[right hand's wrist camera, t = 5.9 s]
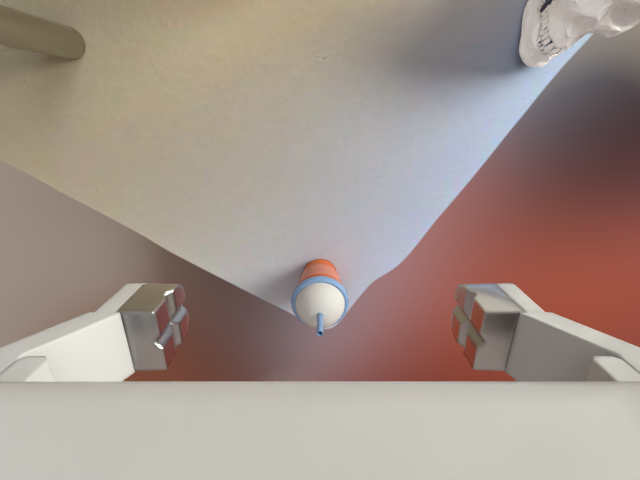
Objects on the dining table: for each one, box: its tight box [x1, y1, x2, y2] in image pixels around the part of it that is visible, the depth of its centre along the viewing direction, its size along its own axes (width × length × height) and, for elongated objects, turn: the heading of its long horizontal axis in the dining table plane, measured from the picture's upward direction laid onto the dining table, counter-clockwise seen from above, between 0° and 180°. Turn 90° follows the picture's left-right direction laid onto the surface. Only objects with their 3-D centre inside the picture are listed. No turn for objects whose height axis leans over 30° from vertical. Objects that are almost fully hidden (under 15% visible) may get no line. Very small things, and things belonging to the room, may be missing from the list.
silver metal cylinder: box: [0, 5, 85, 59], centre depth 41 cm, size 4×4×19 cm
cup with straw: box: [291, 259, 349, 336], centre depth 55 cm, size 9×9×18 cm
